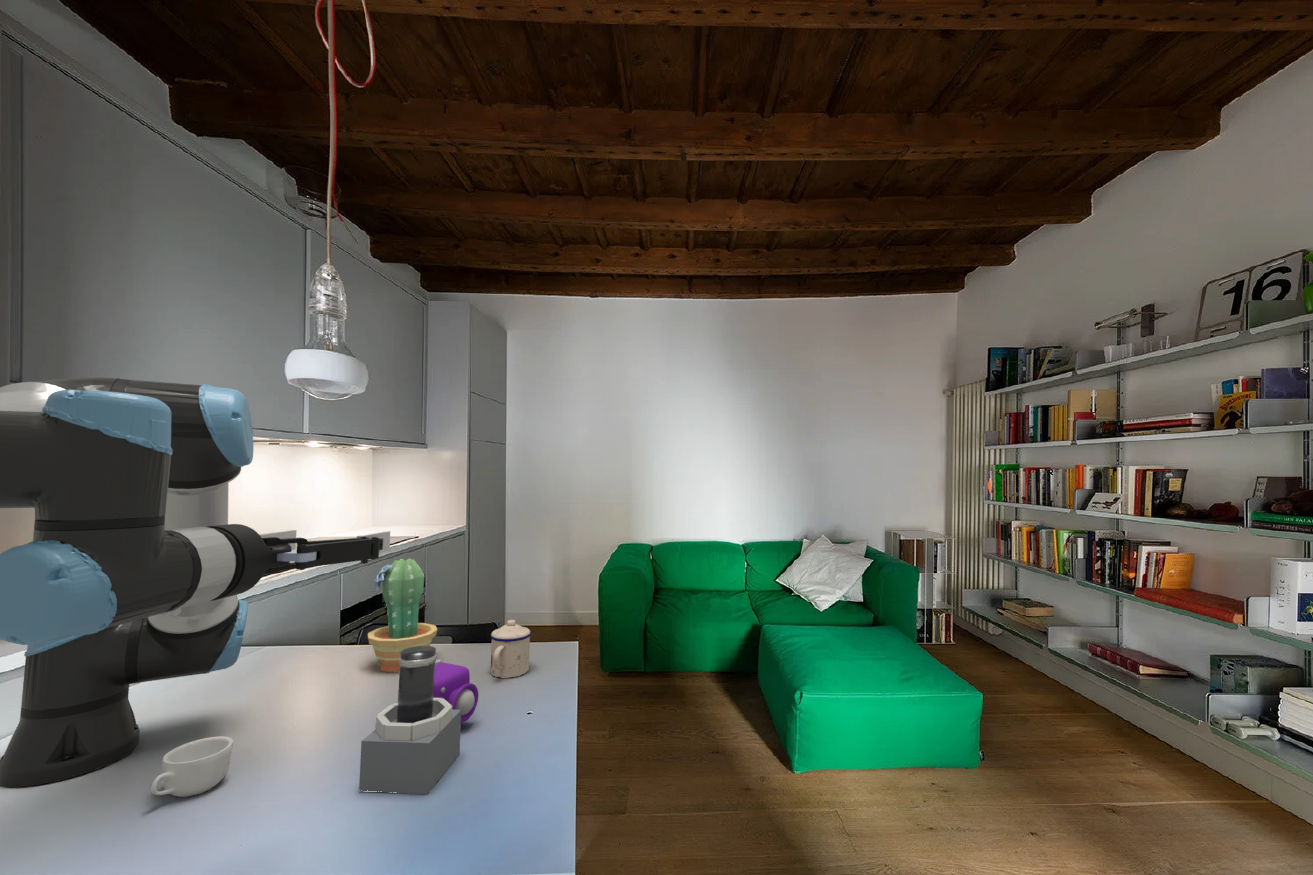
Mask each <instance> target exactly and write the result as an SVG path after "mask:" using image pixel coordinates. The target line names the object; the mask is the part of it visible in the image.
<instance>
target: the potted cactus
mask: <svg viewBox="0 0 1313 875" xmlns="http://www.w3.org/2000/svg"><path fill="white" fill-rule="evenodd" d="M381 583H382V585H381ZM424 585H425V573H424V572H423V569H422V568H421V567H420V566H419V564H418V562H416V560H415V559H414V558H413V559H412V558H408V559H407V558H406V559H403V558H400V559H399V560H397V559H394V561H393V562H392V563H391V564H386V565H384V566H382V568H381V569H380V571H379V573H378V574H377V575H376V577H375V579H374V586H375V592H378V591H379V589H381V586H382V596H383V600H384V603H385V606H386V609H387V611H386V612H387V622H388V625H387V626H386V625H385V626H383V627H378V628H376V629H373V630H371V631H369V632H368V633H367V639H368V644H369V645H370V646H372V649H373V652H374V654H375V657H376V658H377V660H378V661H379V662H380V670H381V671H384V672H385V673H386V672H387V673H399V672H400V666H399V657H400V654H401V651H402V650H404V649H407V648H410V647H416V646H431V643H432V640H433V639H434V637H436V636H437V632H438V628H437V626H436V625H435V624H431V623H426V622H419V611H420V610H419V609H420V608H419V607H420V606H419V605H420V601H421V598H422V596H423V593H424Z"/></svg>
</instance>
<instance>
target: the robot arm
mask: <svg viewBox="0 0 1313 875" xmlns="http://www.w3.org/2000/svg"><path fill="white" fill-rule="evenodd" d="M251 413H252V412H251V409H250V405H249V402H248V399H247V397H246V396H245V395H244V393H242V391H240V390H237V389H234V388H227V387H219V386H213V385H211V384H206V383H205V384H190V383H189V384H188V383H179V382H178V383H176V382H166V381H165V382H163V381H150V380H140V379H139V380H137V379H136V380H135V379H128V378H127V379H126V378H119V377H116V378H115V377H103V376H101V377H98V376H95V377H94V376H93V377H90V376H89V377H74V378H73V377H72V378H59V379H48V380H37V381H36V380H35V381H23V382H16V383H10V384H6V385H3V386H1V387H0V509H34V524H33V533H32V541H30V542H28V543H24V544H21V545H16V546H13V547H10V548H7V549H6V550H4V551H2V552H1V553H0V640H1V641H4V642H7V643H11V644H16V645H22V646H27V647H26V651H25V652H24V655H23V656H24V657H25V660H24V661H25V662H24V672H23V683H22V694H21V703H20V704H21V706H20V716H19V721H18V724H17V726H16V729H15V730H14V732H13V734H12V736H11V738H10V741H9V743H8V745H7V747H6V749H5V752H4V754H3V755H2V756H1V758H0V785H1V786H3V787H17V788H18V787H28V786H29V787H31V786H36V785H43V784H44V785H45V784H50V783H54V782H59V781H64V780H66V779H70V778H73V777H74V778H76V777H78V776H80V775H81V776H82V775H84V774H87V773H89V772H93V771H95V770H99V769H101V768H103V767H106V766H109V765H111V764H114V763H115V762H118V761H119V760H121V759H123V758H125V757H127V756H128V755H130V754H131V753H133V752H134V751H135V750H136V749H137V748H138V747H139V743H140V732H141V731H140V727H139V725H138V724H137V721H136V716H135V713H134V711H133V708H132V705H131V703H130V700H129V693H130V685H132V684H133V685H134V684H139V683H146V682H153V681H161V680H169V679H175V678H181V677H182V678H183V677H189V676H196V675H205V674H209V673H211V672H216V671H222V670H226V669H228V668H231V667H233V666H234V665H235V664H236V663H237V661H238V659H239V657H240V652H241V649H242V648H241V647H242V645H243V641H244V633H245V629H246V625H247V624H246V623H247V617H248V611H249V603H248V601H247V600H243V599H238V595H241V594H244V593H245V592H247V591H250V590H251V589H253V587H255V586H256V585H257V584H258V583H259V582H260V581H261V579H262V577H263V576H264V575H265V574H267V575H268V574H269V575H270V574H276V573H278V572H279V571H285V570H294V569H295V570H299V571H304V570H306V569H311V568H315V567H316V568H317V567H321V566H327V565H328V566H329V565H336V564H337V565H338V564H344V563H352V562H360V563H361V564H365V565H366V564H368V563H369V560H372V561H373V560H377V559H379V558H380V557H379V556H380V554H381V553H386V552H389V551H390V550H391V549H390V548H391V547H390V545H391V531H389V530H385V531H384V530H383V531H378V532H371V533H367V534H360V535H357V536H356V537H351V538H335V539H320V540H308V539H306V538H304V537H297V531H298V530H297V529H289V530H280V531H275V532H273V531H272V532H266V533H258V532H257V531H256V530H255V529H254V528H253V527H252V528H251V527H249V526H247V525H245V524H238V523H230V524H229V484H230V482H232V481H233V480H235V479H236V478H237V477H238V476H239V475H240V474H241V472H242V468H243V467H244V466H249V465H251V463H252V462H253V459H254V437H253V433H254V430H253V428H254V427H253V419H252V414H251ZM294 550H296V551H294Z"/></svg>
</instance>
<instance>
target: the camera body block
mask: <svg viewBox="0 0 1313 875" xmlns="http://www.w3.org/2000/svg"><path fill="white" fill-rule="evenodd" d="M397 707H398V702H395V703H392V704H389V705H388V706H386V708H383V710H381V711H380V712H379V713H378V714H377V715H376V717H375V729H374V730H373V731H372V732H371V733H369V734H368V735H366V736H365V737H364V738H363V739H362V740H361V741H360V742H361V743H360V764H359V783H358V791H359V790H360V791H361V790H362V791H367V790H368V791H377V792H378V791H379V792H380V791H382V792H392V793H391V794H394V793H393V792H397V793H396V794H400V793H405V794H406V795H407V794H408V795H428V794H429V793H430V791H431V790H432V789H433V788H434V787H435V786H436V784H437V783H438V782H439V781H440V779H441V778H442V777H443V776H444V774H446V772H447V771H448V770H449V768H450V767H451V766H452V765H453V763H454V762H455V761H456V760H457V758H458V757H459V756H460V754H461V728H462V727H461V726H462V722H461V710H452V705H451V704H450V703H448V702H447V701H446V700H445V699H443V698H433V713H432V718H428V719H425V720H421V721H418V722H415V723H397ZM455 759H456V760H455ZM451 764H452V765H451ZM447 769H448V770H447ZM442 775H443V776H442ZM438 780H439V781H438ZM437 781H438V782H437ZM405 794H404V795H405Z"/></svg>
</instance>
